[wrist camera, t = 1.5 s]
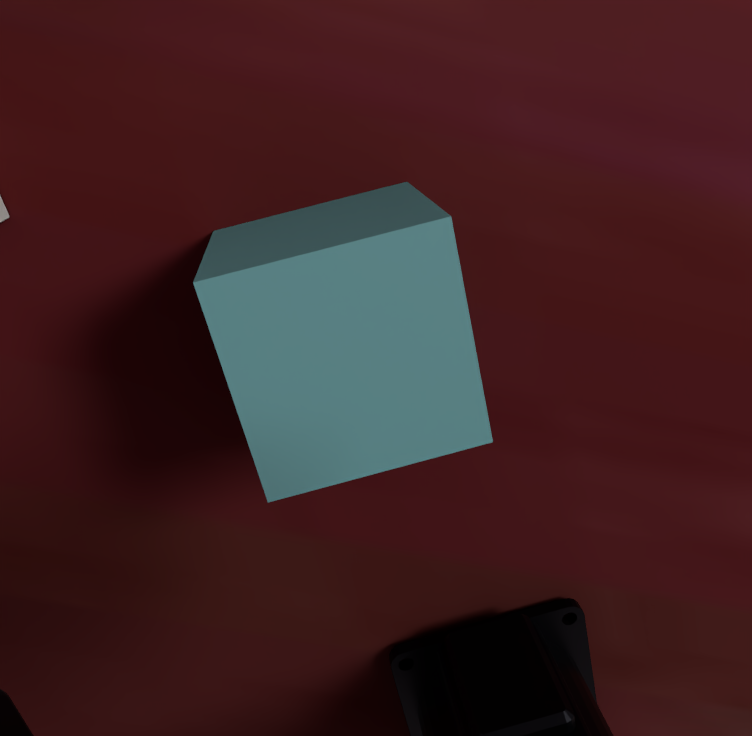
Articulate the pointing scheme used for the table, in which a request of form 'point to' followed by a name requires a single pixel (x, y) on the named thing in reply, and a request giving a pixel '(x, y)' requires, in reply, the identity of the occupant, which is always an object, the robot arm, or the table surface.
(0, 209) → the tile
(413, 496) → the table surface
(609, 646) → the table surface
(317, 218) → the cube
